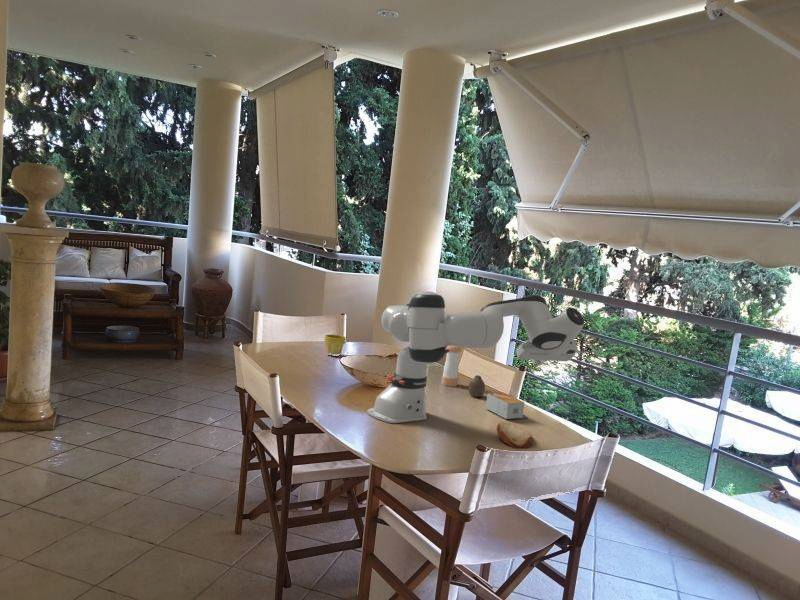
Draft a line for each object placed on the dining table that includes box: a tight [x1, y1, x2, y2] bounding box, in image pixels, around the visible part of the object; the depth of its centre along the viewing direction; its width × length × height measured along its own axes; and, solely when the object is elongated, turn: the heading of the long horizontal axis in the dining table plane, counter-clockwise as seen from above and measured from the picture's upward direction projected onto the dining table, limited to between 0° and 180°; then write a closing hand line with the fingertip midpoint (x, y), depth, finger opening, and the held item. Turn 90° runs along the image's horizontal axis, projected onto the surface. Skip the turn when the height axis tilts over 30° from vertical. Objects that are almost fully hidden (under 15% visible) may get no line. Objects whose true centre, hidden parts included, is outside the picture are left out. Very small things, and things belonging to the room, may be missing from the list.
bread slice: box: [496, 421, 534, 450], centre depth 203 cm, size 18×18×4 cm
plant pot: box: [324, 333, 347, 355], centre depth 297 cm, size 10×10×10 cm
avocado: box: [468, 375, 486, 398], centre depth 250 cm, size 7×7×9 cm
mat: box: [496, 413, 529, 420], centre depth 231 cm, size 14×11×1 cm
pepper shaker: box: [441, 346, 463, 387], centre depth 264 cm, size 7×7×19 cm
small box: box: [485, 392, 525, 420], centre depth 228 cm, size 8×6×13 cm
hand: (535, 363), depth 212 cm, fingers closed
